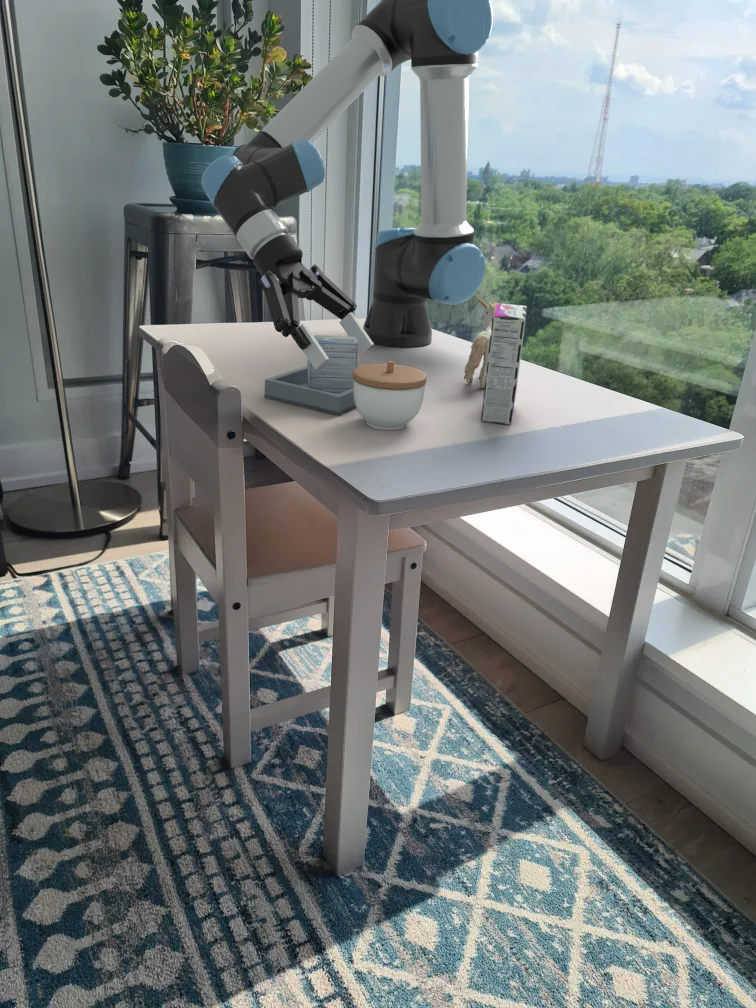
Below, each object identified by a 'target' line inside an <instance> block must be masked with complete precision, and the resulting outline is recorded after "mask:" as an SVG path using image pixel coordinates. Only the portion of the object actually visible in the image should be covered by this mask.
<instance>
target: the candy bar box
mask: <svg viewBox="0 0 756 1008" xmlns="http://www.w3.org/2000/svg"><path fill="white" fill-rule="evenodd" d="M527 310H528V307H527V305H521V304H515V303H514V304H512V303H509V304H508V303H503V302H501V303H499V304H497V306H496V309H495V312H494V314H493V318H492V327H491V336H490V344H489V353H488V362H487V371H486V380H485V389H484V388H483V399H482V400H483V401H482V408H481V415H480V416H481V417H480V421H481V422H483V423H489V424H498V425H508V426H509V425H512V420H513V414H514V409H515V401H516V396H517V395H516V394H517V386H518V379H519V374H520V373H519V372H520V366H521V365H520V364H521V358H522V349H523V342H524V334H525V328H526V327H525V326H526V321H527Z"/></svg>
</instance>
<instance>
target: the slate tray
mask: <svg viewBox="0 0 756 1008" xmlns="http://www.w3.org/2000/svg"><path fill="white" fill-rule="evenodd" d="M359 366H360V365H358V367H359ZM307 374H308V365H305V366H303V367H300V368H296V369H294V370H290V371H286V372H284V373H281V374H277V375H274V376H271V377H268V378H265V379H264V399H268V400H272V401H276V402H280V403H285V404H288V405H291V406H292V405H293V406H296V407H300V408H304V409H308V410H313V411H315V412H321V413H324V414H329V415H333V416H336V417H337V416H338V417H340V416H341V415H345V414H347V413H349V412H351V411H353V410H355V409H356V410H357V408H356V405H355V402H354V396H353V388H352V389H349V390H347V391H344V392H342V393H339V394H334V393H330V392H326V391H321V390H317V389H313V388H309V387H308V386H307Z"/></svg>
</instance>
